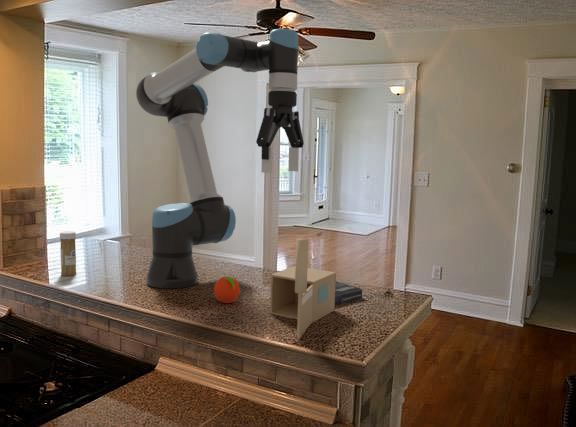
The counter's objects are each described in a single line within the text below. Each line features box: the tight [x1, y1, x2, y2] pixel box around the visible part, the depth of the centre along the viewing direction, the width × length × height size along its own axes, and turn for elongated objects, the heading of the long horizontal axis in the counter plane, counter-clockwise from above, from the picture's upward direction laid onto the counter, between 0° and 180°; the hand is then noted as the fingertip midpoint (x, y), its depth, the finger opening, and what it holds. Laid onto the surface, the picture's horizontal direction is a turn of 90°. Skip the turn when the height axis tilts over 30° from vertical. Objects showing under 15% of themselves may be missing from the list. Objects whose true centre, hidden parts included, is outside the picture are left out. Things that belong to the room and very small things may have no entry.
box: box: [335, 281, 363, 306], centre depth 152 cm, size 14×4×20 cm
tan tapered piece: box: [295, 237, 313, 339], centre depth 120 cm, size 12×3×22 cm, turn 163°
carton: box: [269, 265, 337, 324], centre depth 135 cm, size 12×12×10 cm
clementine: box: [213, 275, 241, 304], centre depth 141 cm, size 8×7×7 cm
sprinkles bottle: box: [59, 230, 77, 277], centre depth 166 cm, size 5×5×13 cm
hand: (280, 172), depth 143 cm, fingers open, 13 cm apart
